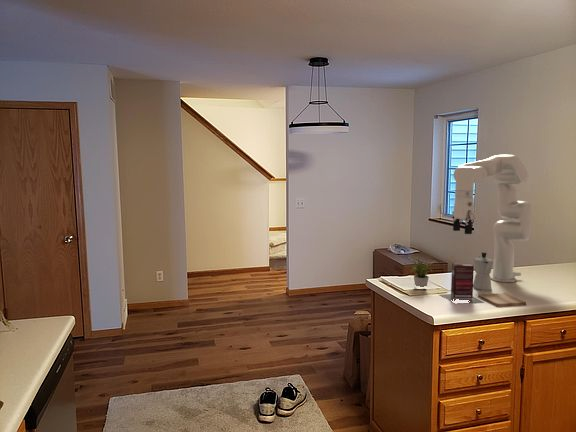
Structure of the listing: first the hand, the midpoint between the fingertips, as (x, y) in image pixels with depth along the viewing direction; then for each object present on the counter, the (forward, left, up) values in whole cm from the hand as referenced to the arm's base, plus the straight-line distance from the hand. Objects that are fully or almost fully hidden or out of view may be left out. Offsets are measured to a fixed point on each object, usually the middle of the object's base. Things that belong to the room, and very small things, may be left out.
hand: (462, 232), depth 197 cm
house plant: (+12, -18, -31) cm, 37 cm away
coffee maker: (-20, -14, -31) cm, 39 cm away
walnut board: (-16, +7, -31) cm, 35 cm away
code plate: (0, +1, -31) cm, 31 cm away
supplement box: (0, +1, -31) cm, 31 cm away
